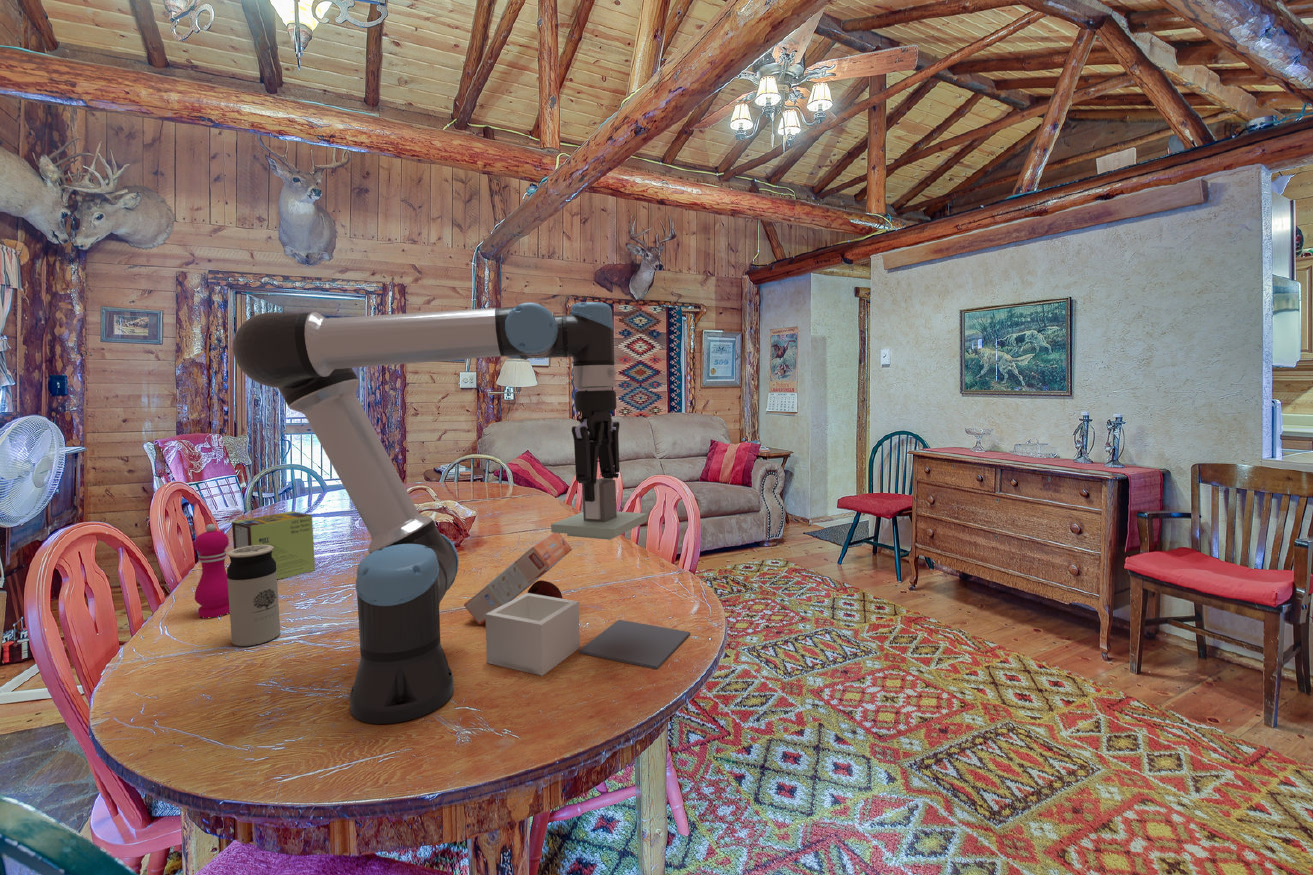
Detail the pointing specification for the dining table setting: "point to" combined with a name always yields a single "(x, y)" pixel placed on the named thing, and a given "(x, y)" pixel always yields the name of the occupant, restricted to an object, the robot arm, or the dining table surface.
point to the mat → (636, 643)
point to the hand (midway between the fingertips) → (600, 515)
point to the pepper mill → (212, 573)
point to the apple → (545, 589)
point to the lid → (610, 518)
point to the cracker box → (518, 576)
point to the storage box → (532, 633)
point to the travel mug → (253, 595)
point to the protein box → (280, 540)
